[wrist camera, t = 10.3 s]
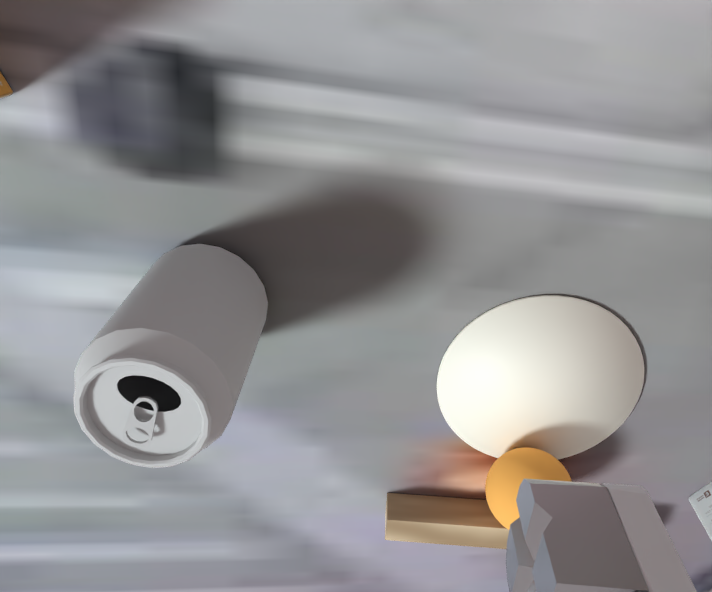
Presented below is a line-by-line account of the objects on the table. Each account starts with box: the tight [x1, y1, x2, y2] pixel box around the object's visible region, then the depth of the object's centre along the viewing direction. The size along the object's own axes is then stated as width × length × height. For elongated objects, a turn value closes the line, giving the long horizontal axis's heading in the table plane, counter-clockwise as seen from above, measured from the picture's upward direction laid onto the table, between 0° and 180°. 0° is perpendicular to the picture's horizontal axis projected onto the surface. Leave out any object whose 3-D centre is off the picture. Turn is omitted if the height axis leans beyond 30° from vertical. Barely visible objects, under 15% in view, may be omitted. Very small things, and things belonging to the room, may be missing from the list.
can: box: [73, 244, 268, 468], centre depth 33 cm, size 8×8×12 cm
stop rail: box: [385, 493, 509, 549], centre depth 44 cm, size 2×18×2 cm, turn 87°
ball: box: [485, 447, 572, 530], centre depth 41 cm, size 6×6×6 cm
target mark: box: [437, 295, 644, 460], centre depth 40 cm, size 13×13×1 cm
